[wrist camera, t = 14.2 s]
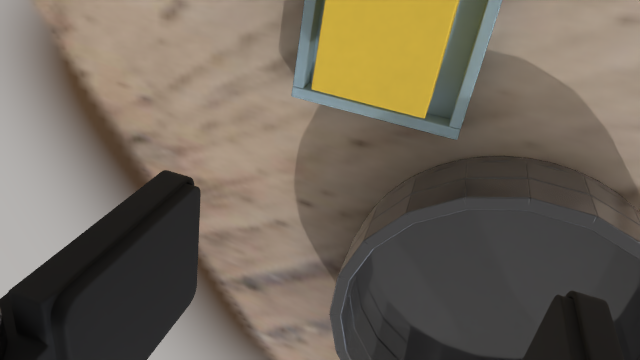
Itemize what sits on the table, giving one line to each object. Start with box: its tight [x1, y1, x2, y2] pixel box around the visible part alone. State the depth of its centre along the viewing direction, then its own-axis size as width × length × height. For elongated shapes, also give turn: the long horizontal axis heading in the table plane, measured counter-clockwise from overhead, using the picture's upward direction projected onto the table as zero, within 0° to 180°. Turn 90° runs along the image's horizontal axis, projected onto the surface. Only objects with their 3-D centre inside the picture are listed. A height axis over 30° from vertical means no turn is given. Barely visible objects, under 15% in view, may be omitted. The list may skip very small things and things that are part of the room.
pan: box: [330, 156, 640, 360], centre depth 24 cm, size 15×15×4 cm
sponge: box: [311, 0, 460, 118], centre depth 19 cm, size 7×4×4 cm, turn 171°
